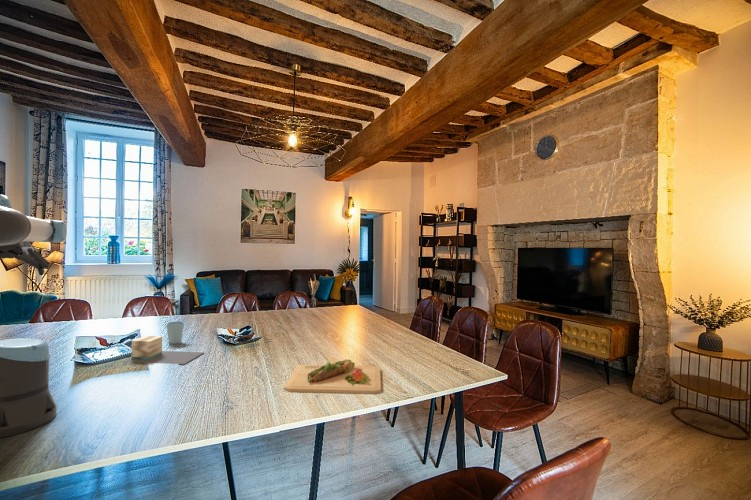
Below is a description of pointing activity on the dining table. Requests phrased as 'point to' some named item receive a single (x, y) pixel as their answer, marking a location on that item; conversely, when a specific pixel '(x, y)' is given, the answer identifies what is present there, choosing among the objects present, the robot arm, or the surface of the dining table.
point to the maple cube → (146, 347)
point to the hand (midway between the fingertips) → (14, 281)
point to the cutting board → (335, 378)
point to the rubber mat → (169, 358)
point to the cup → (175, 331)
